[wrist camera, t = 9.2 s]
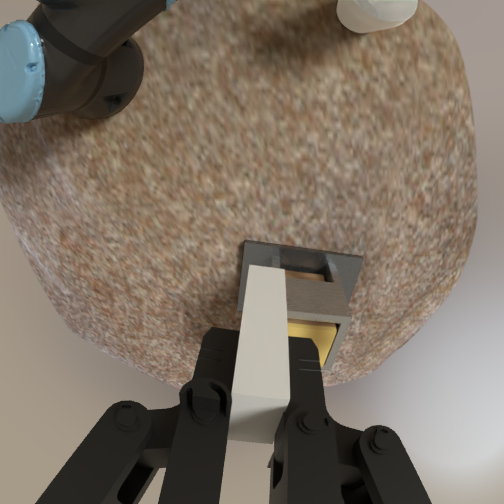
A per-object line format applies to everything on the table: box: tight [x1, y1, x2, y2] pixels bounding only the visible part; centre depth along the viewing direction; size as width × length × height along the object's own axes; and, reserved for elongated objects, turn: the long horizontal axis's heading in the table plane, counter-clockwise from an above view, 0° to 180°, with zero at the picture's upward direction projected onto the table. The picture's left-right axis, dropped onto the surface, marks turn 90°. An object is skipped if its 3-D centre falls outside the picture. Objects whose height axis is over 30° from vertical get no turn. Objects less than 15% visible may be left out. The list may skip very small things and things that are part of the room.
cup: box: [336, 0, 418, 33], centre depth 27 cm, size 9×9×12 cm
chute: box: [237, 240, 363, 370], centre depth 47 cm, size 20×14×15 cm
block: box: [285, 270, 337, 367], centre depth 46 cm, size 7×7×14 cm
